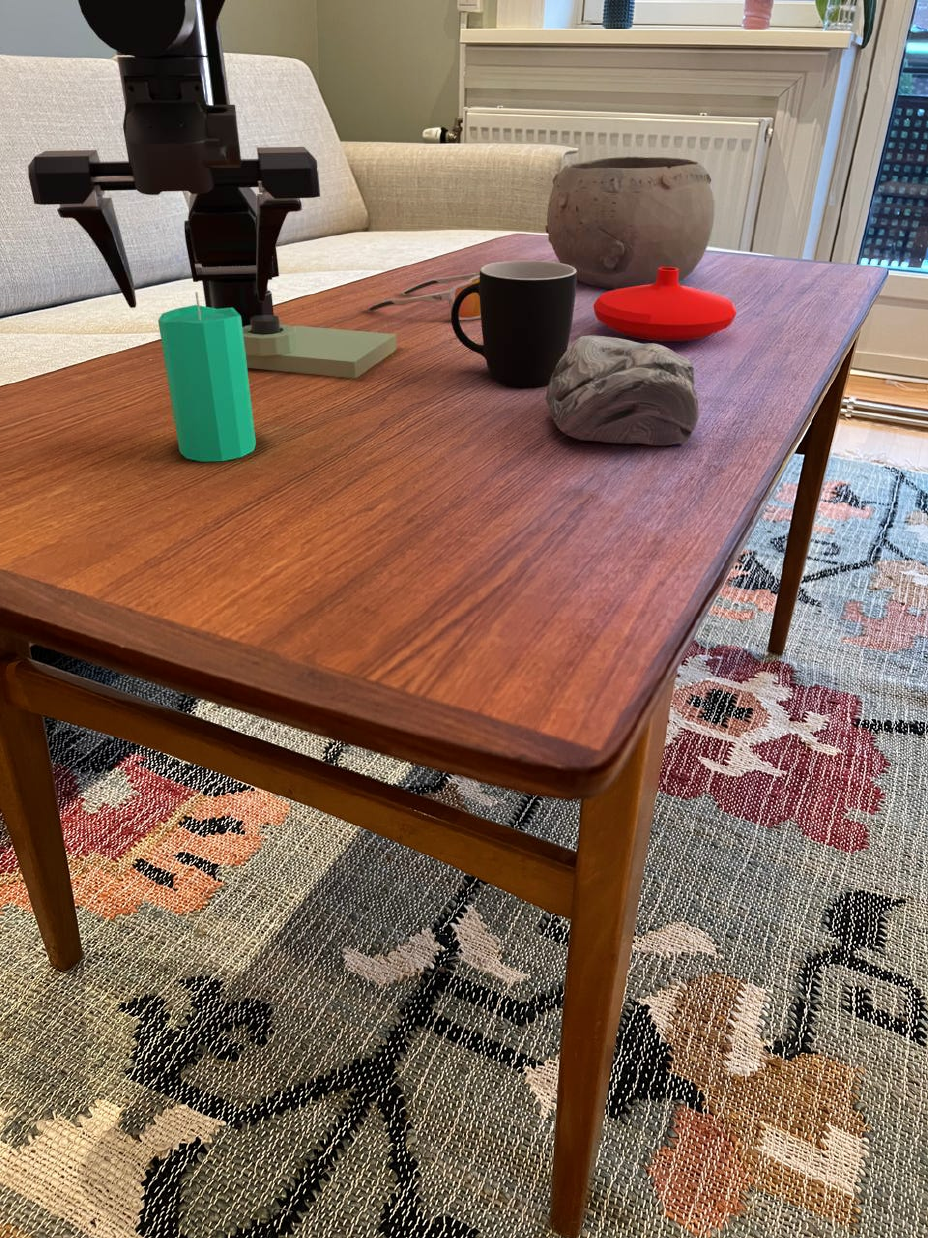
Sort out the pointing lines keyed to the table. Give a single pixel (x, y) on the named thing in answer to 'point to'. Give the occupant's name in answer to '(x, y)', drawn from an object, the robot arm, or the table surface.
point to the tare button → (265, 324)
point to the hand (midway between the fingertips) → (198, 303)
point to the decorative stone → (623, 393)
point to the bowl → (630, 218)
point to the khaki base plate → (317, 350)
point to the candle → (208, 382)
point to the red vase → (664, 310)
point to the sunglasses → (442, 296)
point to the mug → (522, 319)
